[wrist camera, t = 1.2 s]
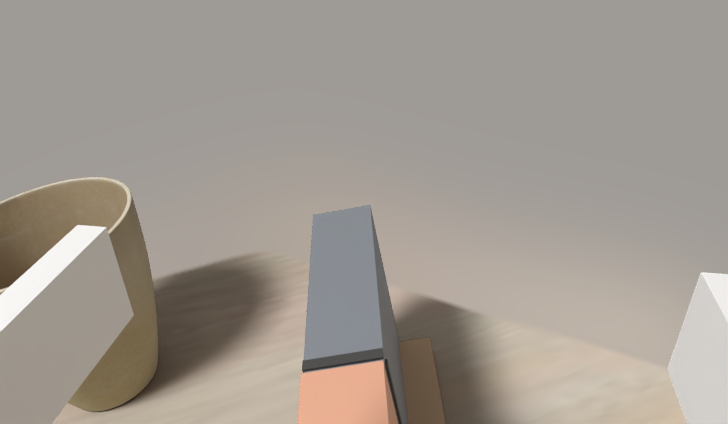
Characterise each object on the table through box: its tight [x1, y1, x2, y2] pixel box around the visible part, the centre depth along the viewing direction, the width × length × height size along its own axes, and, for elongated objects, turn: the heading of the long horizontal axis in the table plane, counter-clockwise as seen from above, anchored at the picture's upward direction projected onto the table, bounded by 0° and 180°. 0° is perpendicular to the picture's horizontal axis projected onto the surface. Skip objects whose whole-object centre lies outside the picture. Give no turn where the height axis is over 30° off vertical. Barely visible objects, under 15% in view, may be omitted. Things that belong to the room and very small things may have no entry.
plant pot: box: [0, 177, 158, 412], centre depth 46 cm, size 15×15×16 cm
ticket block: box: [302, 205, 446, 424], centre depth 37 cm, size 14×9×14 cm, turn 2°
